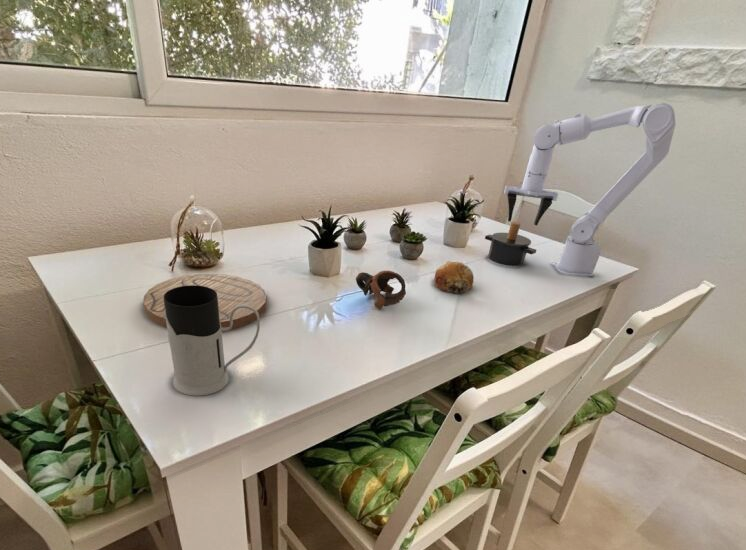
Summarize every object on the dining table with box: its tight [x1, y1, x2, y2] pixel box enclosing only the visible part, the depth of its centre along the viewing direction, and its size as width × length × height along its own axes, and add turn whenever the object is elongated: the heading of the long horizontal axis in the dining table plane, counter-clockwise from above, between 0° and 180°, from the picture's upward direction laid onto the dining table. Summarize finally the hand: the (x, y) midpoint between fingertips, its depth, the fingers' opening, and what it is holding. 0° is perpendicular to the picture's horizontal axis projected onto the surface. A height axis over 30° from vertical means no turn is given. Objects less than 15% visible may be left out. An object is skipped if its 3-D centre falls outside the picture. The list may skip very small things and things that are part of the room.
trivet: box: [142, 273, 268, 330], centre depth 98 cm, size 25×25×2 cm
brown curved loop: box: [355, 270, 407, 310], centre depth 106 cm, size 12×10×8 cm
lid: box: [491, 221, 532, 247], centre depth 134 cm, size 11×11×6 cm
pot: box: [484, 234, 537, 267], centre depth 137 cm, size 10×16×6 cm, turn 43°
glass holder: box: [164, 285, 261, 397], centre depth 72 cm, size 9×14×15 cm, turn 95°
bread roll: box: [434, 260, 475, 294], centre depth 117 cm, size 10×10×8 cm
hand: (522, 222), depth 137 cm, fingers open, 7 cm apart
